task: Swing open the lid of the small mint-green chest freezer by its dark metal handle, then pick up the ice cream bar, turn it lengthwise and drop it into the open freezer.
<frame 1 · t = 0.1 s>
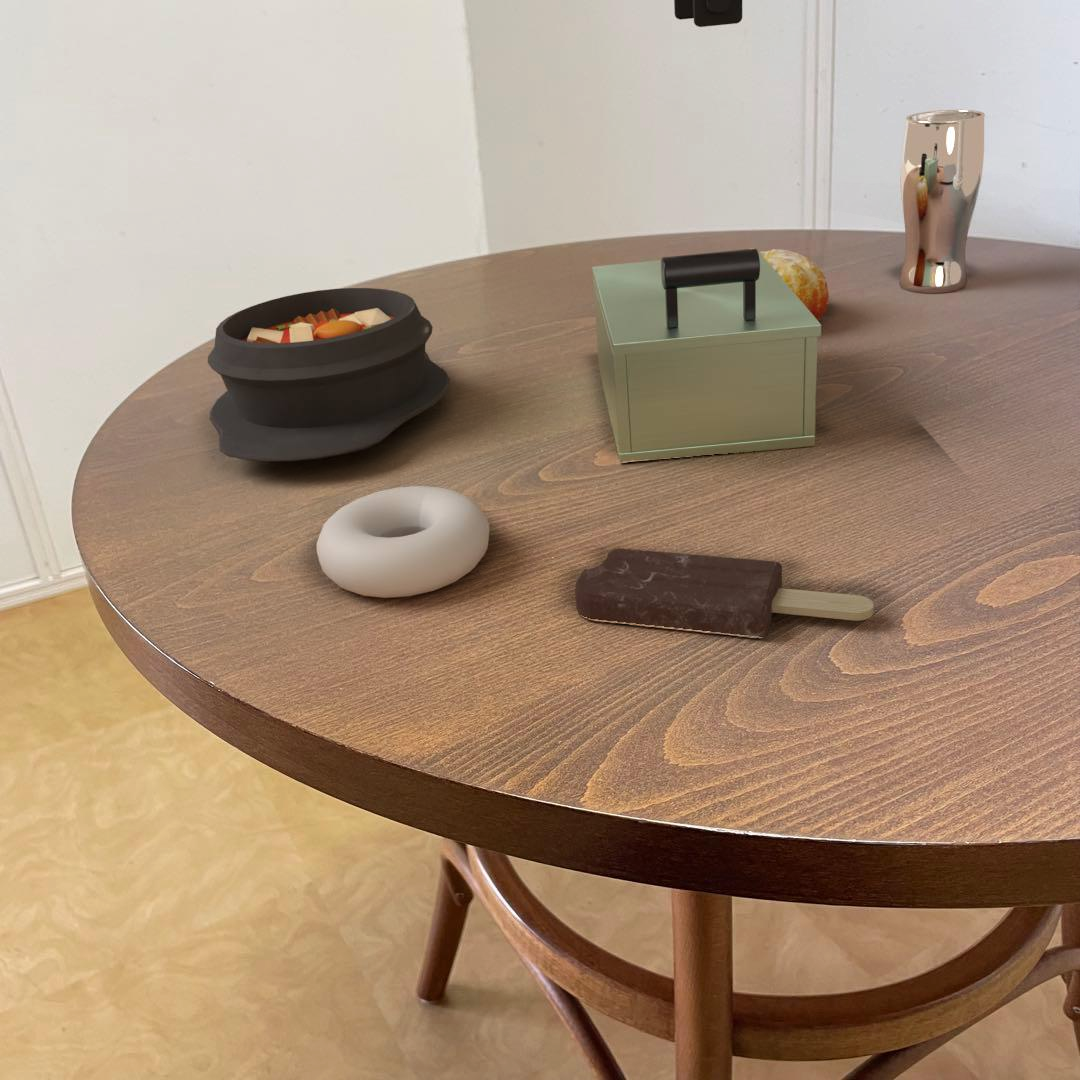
hand: (706, 20, 81), 25 cm above the table, tool pointing down, fingers open, 9 cm apart
freezer lid: (693, 266, 79), point 11 cm above the table, hinge at 0.0°
donut: (408, 567, 66), on the table
ice cream bar: (722, 612, 58), on the table
fruit: (767, 325, 100), on the table
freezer: (696, 404, 84), on the table
beer glass: (932, 286, 106), on the table
casserole: (336, 420, 89), on the table
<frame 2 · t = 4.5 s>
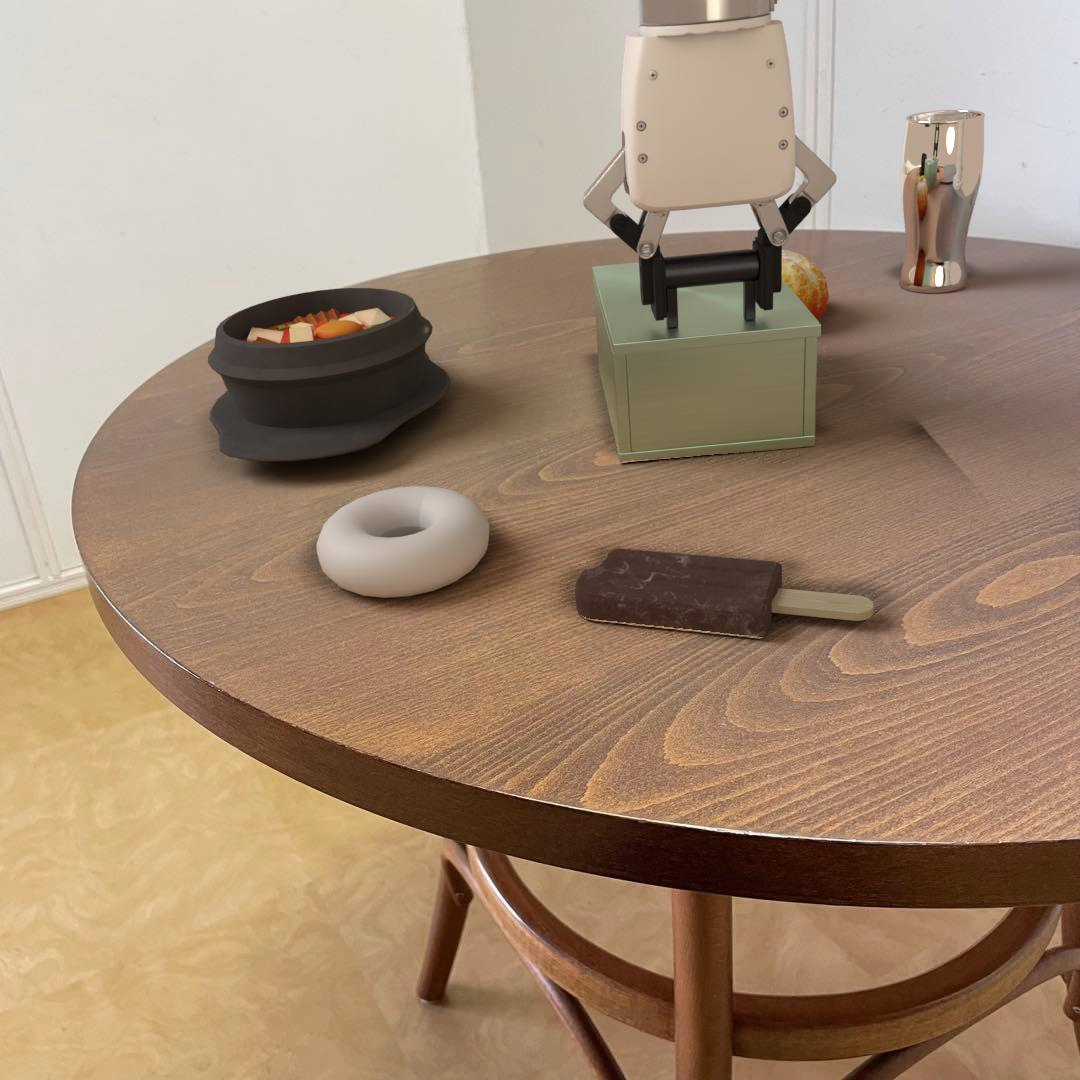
hand: (710, 307, 73), 10 cm above the table, tool pointing down, fingers closed on freezer lid, 6 cm apart
freezer lid: (693, 266, 79), point 10 cm above the table, hinge at 0.0°, touching gripper
everything else where it was.
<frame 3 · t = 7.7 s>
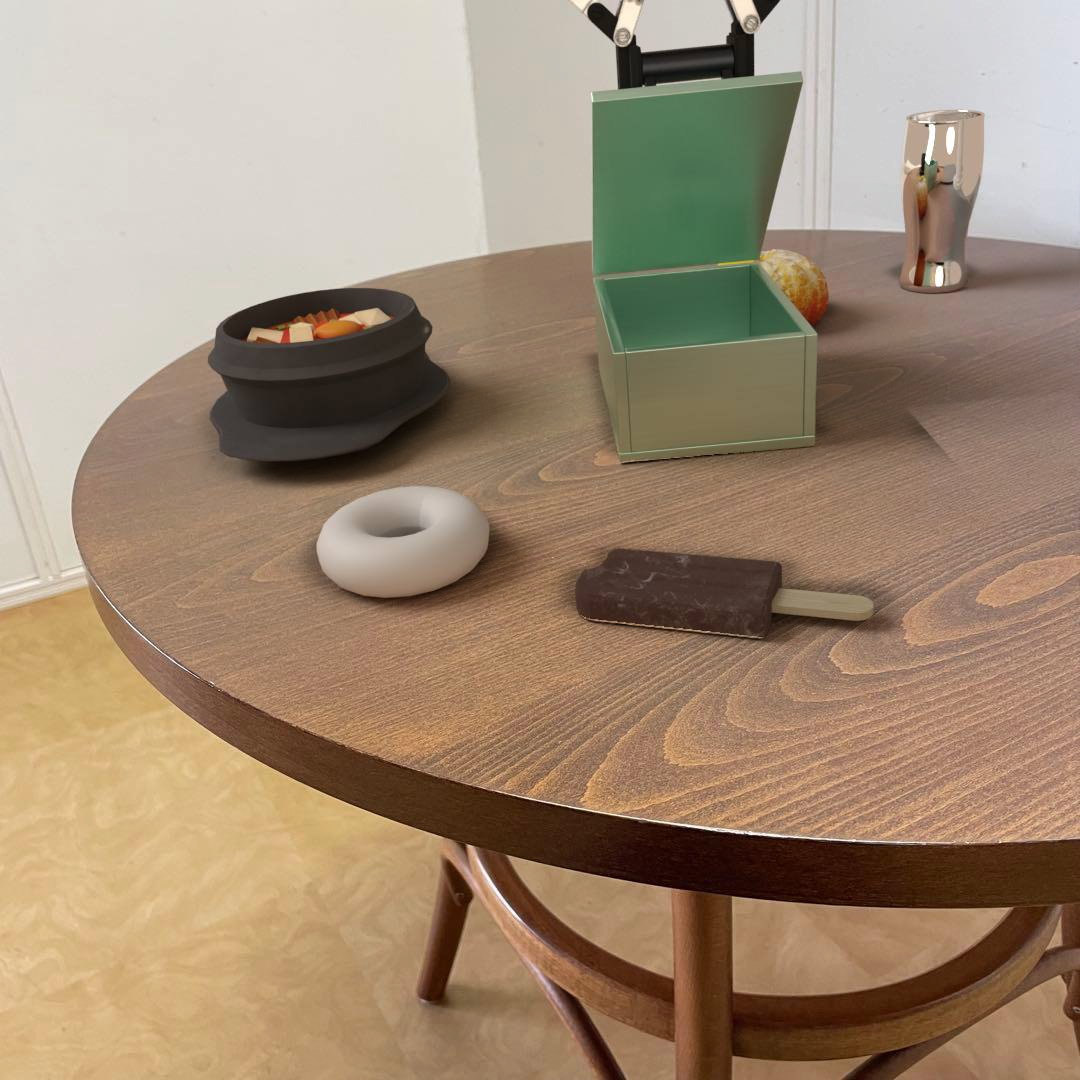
hand: (685, 101, 75), 21 cm above the table, tool pointing down, fingers closed on freezer lid, 6 cm apart
freezer lid: (681, 158, 80), point 17 cm above the table, hinge at 46.3°, touching gripper
everything else where it was.
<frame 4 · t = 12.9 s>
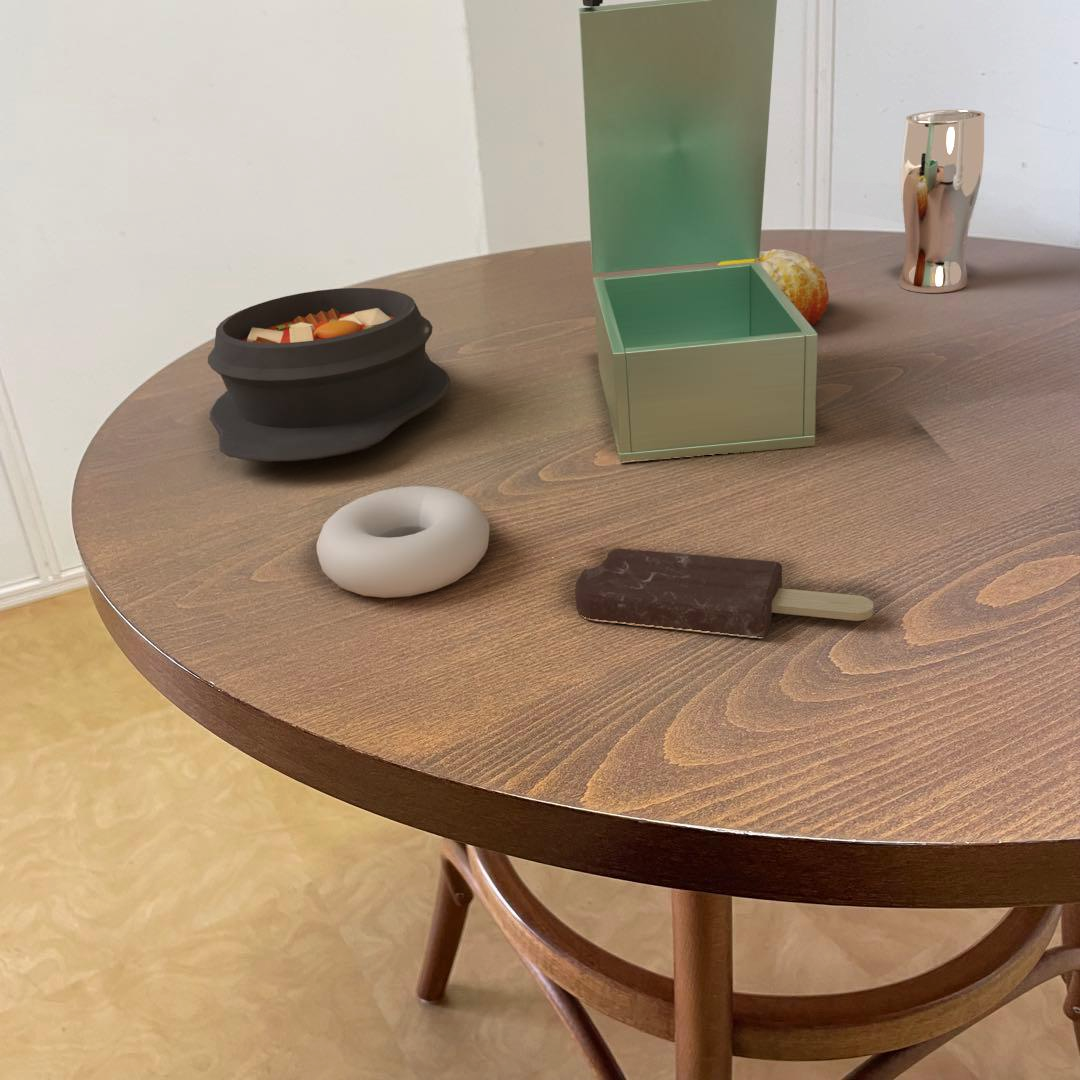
freezer lid: (672, 129, 83), point 18 cm above the table, hinge at 72.3°, touching gripper
everything else where it was.
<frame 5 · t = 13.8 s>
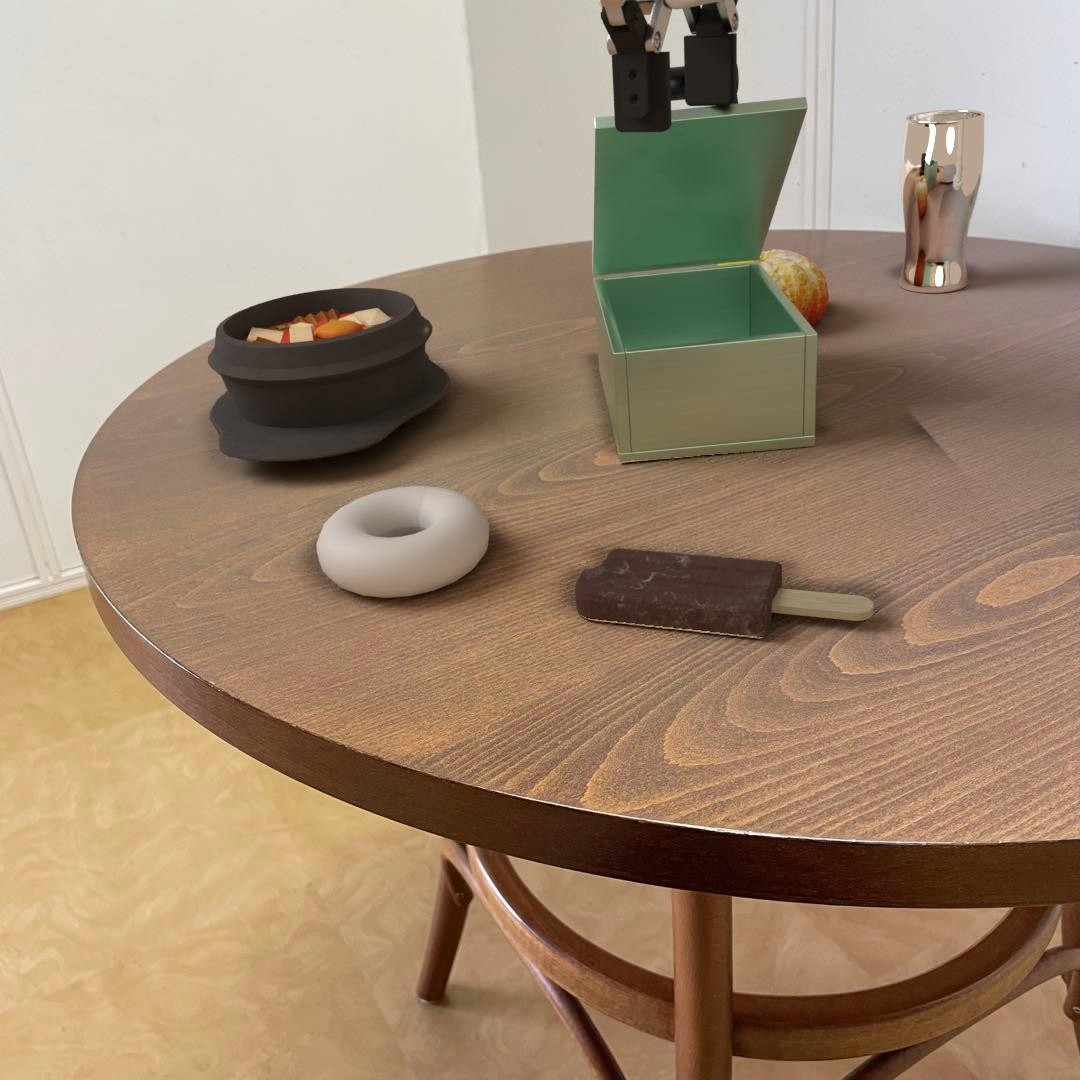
hand: (678, 117, 66), 22 cm above the table, tool pointing down, fingers open, 9 cm apart
freezer lid: (682, 168, 80), point 16 cm above the table, hinge at 40.7°, touching gripper
everything else where it was.
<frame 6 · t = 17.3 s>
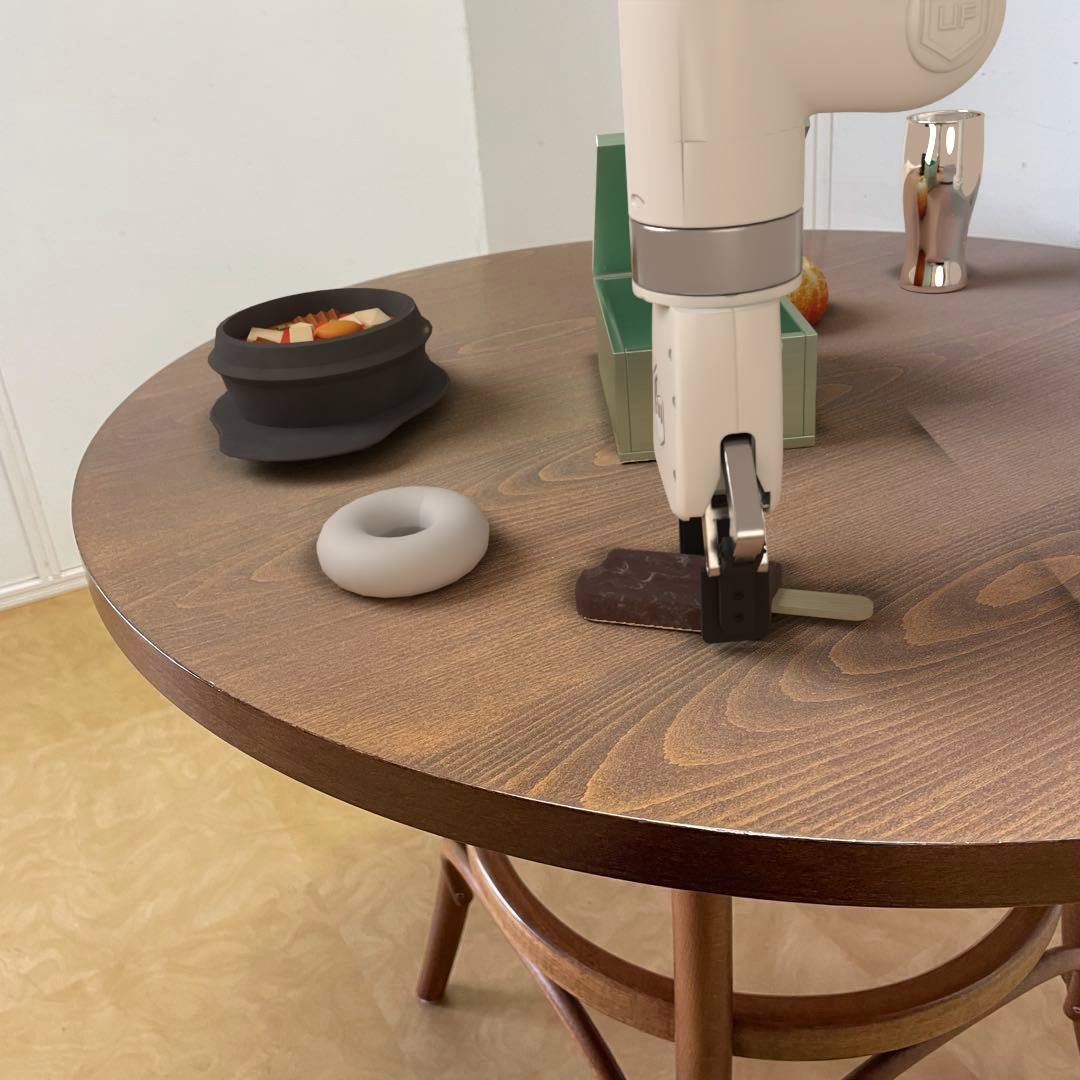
hand: (721, 596, 58), 1 cm above the table, tool pointing down, fingers closed on ice cream bar, 6 cm apart
freezer lid: (683, 175, 79), point 16 cm above the table, hinge at 37.3°
ice cream bar: (722, 612, 58), on the table, touching gripper
everything else where it was.
when the fingers open (11 cm above the table, at t = 24.3 s): ice cream bar drops 7 cm, resting on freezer.
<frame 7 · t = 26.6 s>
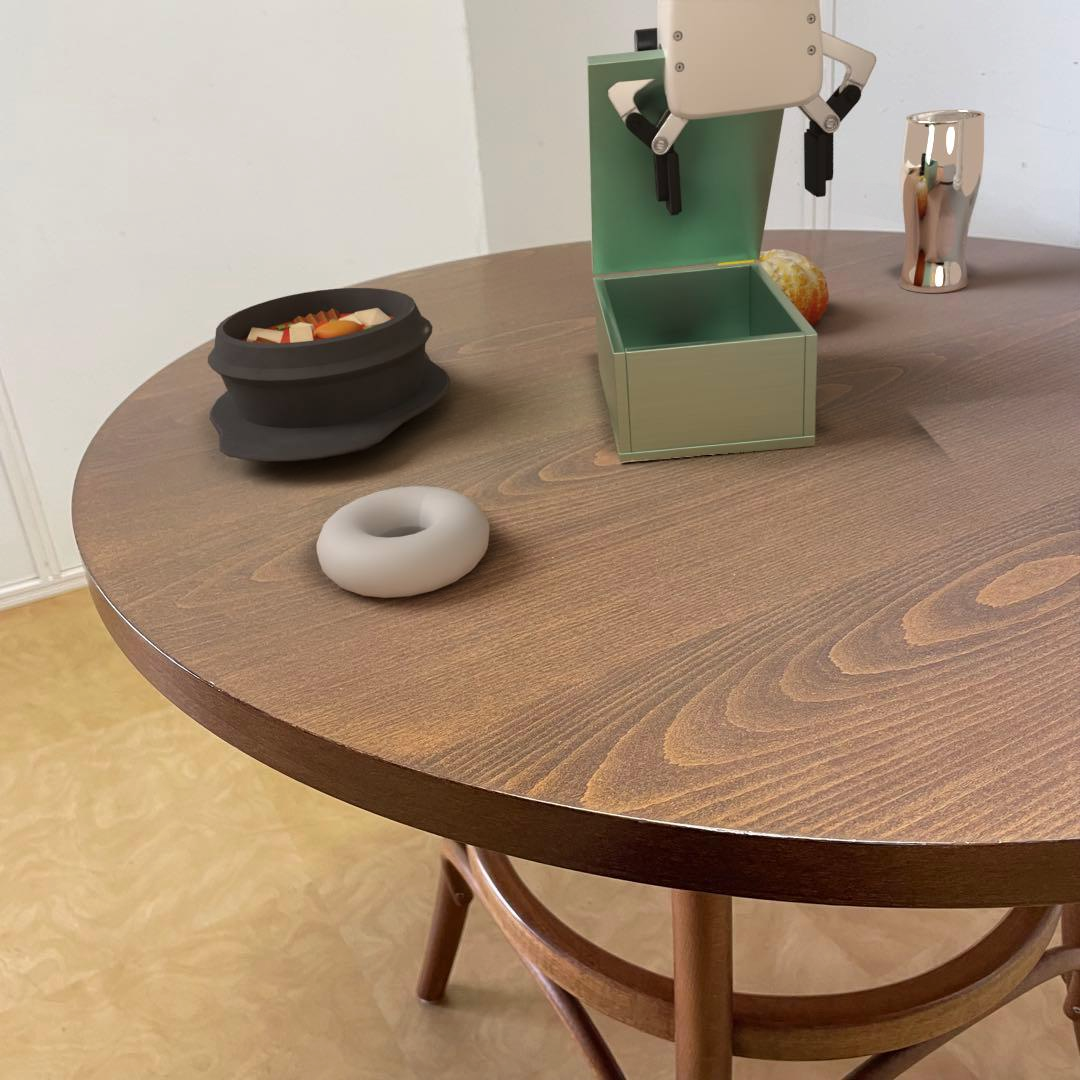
hand: (744, 202, 77), 15 cm above the table, tool pointing down, fingers open, 9 cm apart
freezer lid: (678, 145, 81), point 18 cm above the table, hinge at 55.0°, touching gripper
ice cream bar: (702, 370, 81), point 3 cm above the table, touching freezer
everything else where it was.
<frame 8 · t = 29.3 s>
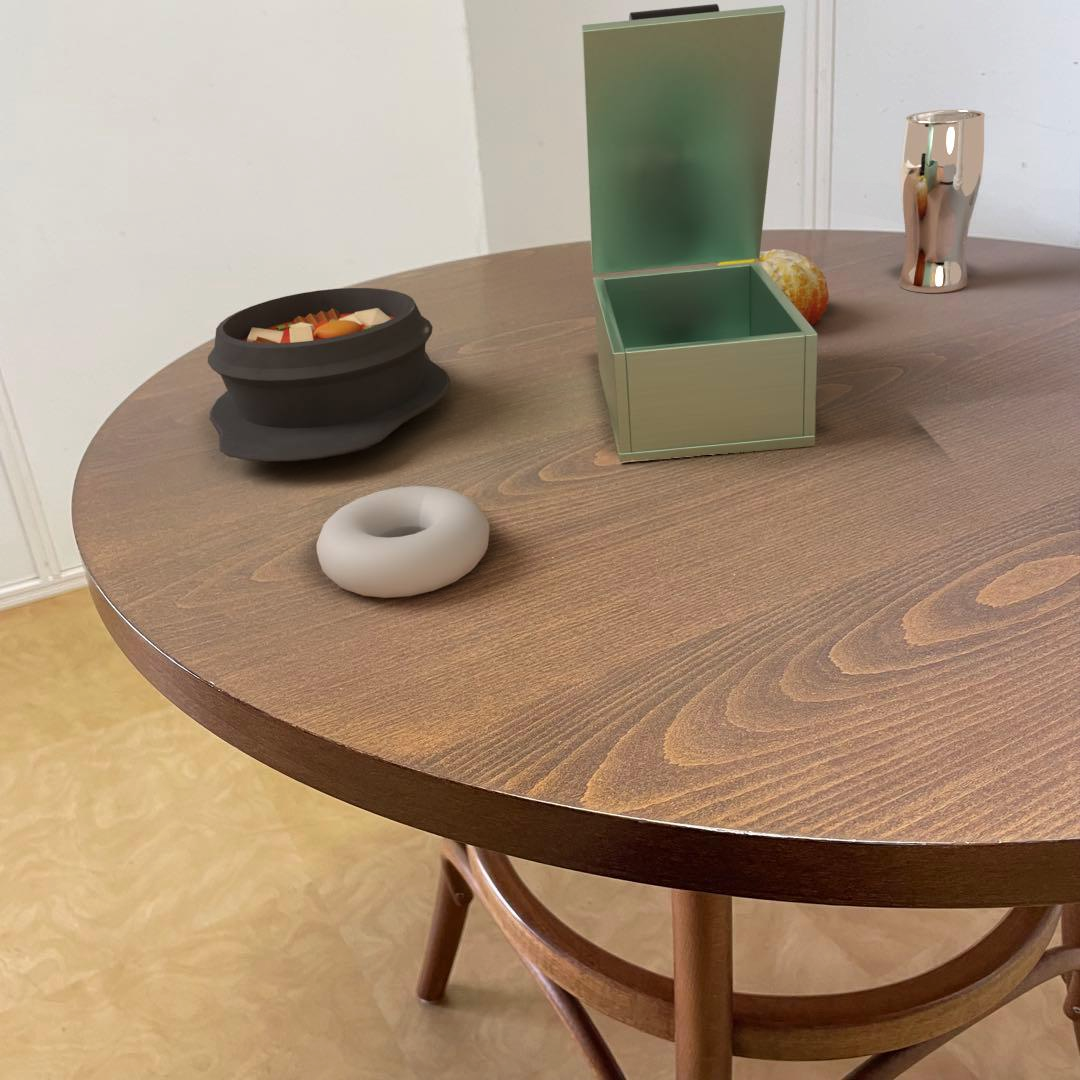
freezer lid: (674, 134, 82), point 18 cm above the table, hinge at 64.9°
everything else where it was.
at the end: freezer lid at +65° (first picture: +0°); ice cream bar inside the target area in the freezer (1.9 cm from its centre), point 3.3 cm above the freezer's base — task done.
